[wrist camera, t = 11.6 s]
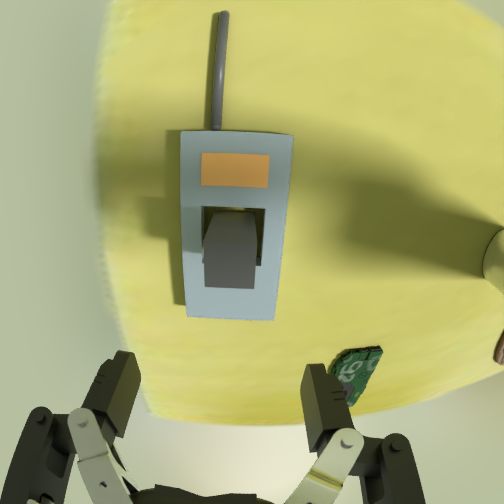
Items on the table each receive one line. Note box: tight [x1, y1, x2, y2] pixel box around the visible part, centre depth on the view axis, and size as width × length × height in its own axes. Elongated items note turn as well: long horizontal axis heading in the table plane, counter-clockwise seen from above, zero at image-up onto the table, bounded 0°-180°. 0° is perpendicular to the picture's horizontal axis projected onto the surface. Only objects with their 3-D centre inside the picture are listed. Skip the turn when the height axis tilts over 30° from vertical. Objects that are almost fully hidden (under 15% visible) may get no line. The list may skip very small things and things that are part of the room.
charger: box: [203, 211, 257, 289], centre depth 25 cm, size 4×4×8 cm
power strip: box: [180, 11, 293, 321], centre depth 25 cm, size 10×33×2 cm, turn 177°
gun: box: [331, 346, 383, 407], centre depth 40 cm, size 16×2×10 cm
